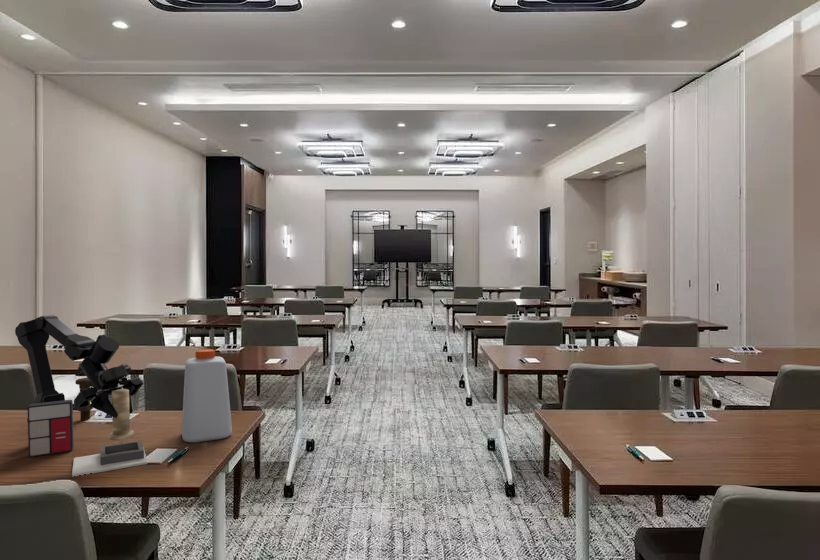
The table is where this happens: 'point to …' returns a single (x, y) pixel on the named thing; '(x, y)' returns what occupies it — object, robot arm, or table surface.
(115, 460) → the collar board
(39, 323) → the robot arm
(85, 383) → the bolt
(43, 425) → the calculator
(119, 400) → the peg
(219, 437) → the plastic bottle
